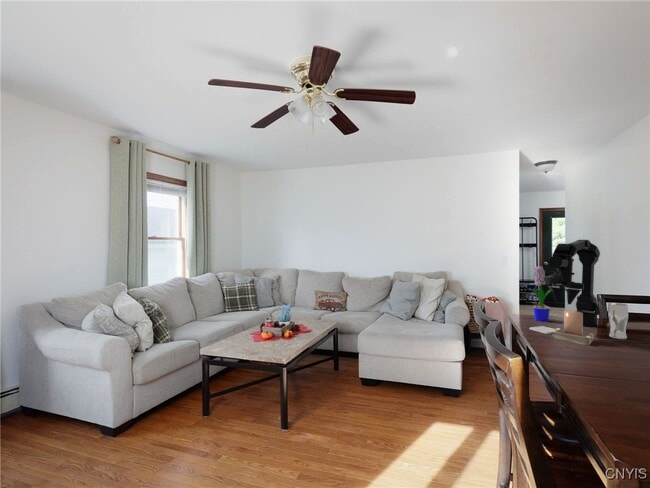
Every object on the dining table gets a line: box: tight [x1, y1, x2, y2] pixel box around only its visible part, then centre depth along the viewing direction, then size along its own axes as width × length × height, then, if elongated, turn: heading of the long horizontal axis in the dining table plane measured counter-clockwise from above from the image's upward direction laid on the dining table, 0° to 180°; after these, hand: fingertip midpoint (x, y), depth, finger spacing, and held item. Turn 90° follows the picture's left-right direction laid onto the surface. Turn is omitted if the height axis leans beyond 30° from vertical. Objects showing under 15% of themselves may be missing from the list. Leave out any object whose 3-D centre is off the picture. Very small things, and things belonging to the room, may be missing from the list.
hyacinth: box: [530, 265, 552, 323], centre depth 187 cm, size 9×10×30 cm
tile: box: [529, 325, 556, 335], centre depth 167 cm, size 9×9×1 cm
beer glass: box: [607, 302, 629, 340], centre depth 154 cm, size 7×7×15 cm
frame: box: [550, 327, 595, 346], centre depth 152 cm, size 10×13×3 cm
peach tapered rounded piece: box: [563, 309, 584, 337], centre depth 153 cm, size 7×7×12 cm
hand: (562, 303), depth 161 cm, fingers open, 9 cm apart
